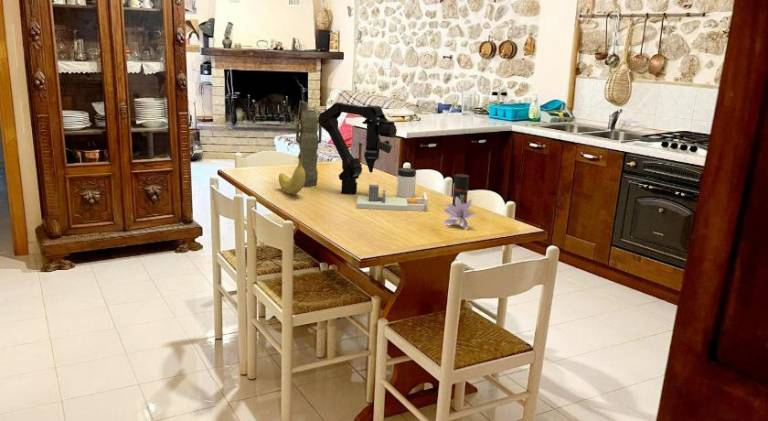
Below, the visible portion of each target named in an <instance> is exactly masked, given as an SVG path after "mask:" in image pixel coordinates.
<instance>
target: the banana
mask: <svg viewBox="0 0 768 421" xmlns="http://www.w3.org/2000/svg"><path fill="white" fill-rule="evenodd" d="M297 158H298V165H297V166H296V168H295V169H294V171H293V173H292V176H291V177H288V175H286V174H285V173H282V172H281V173H279V174H278V183H279V185H280V188H281V190H282V191H283V192H284V193H286V194H289V195H295V194H298V193H299V192H301V191H302V189H303V188H304V187H303V186H304V183H305V171H304V169H303V167H302V164H301V159H302V153H300V152H299V153H298V156H297Z"/></svg>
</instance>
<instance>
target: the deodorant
mask: <svg viewBox="0 0 768 421" xmlns="http://www.w3.org/2000/svg"><path fill="white" fill-rule="evenodd" d="M469 181H470V175H468V174H462V173H456V174H454V182H453V192H452V203H451V204H452V205H454V206H455V207H456V205H455V198H456V197H458V198H459V199H460V201H461V204H462V205H463V204H464V203H465V204H466V203H467V202H468V192H469Z"/></svg>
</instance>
